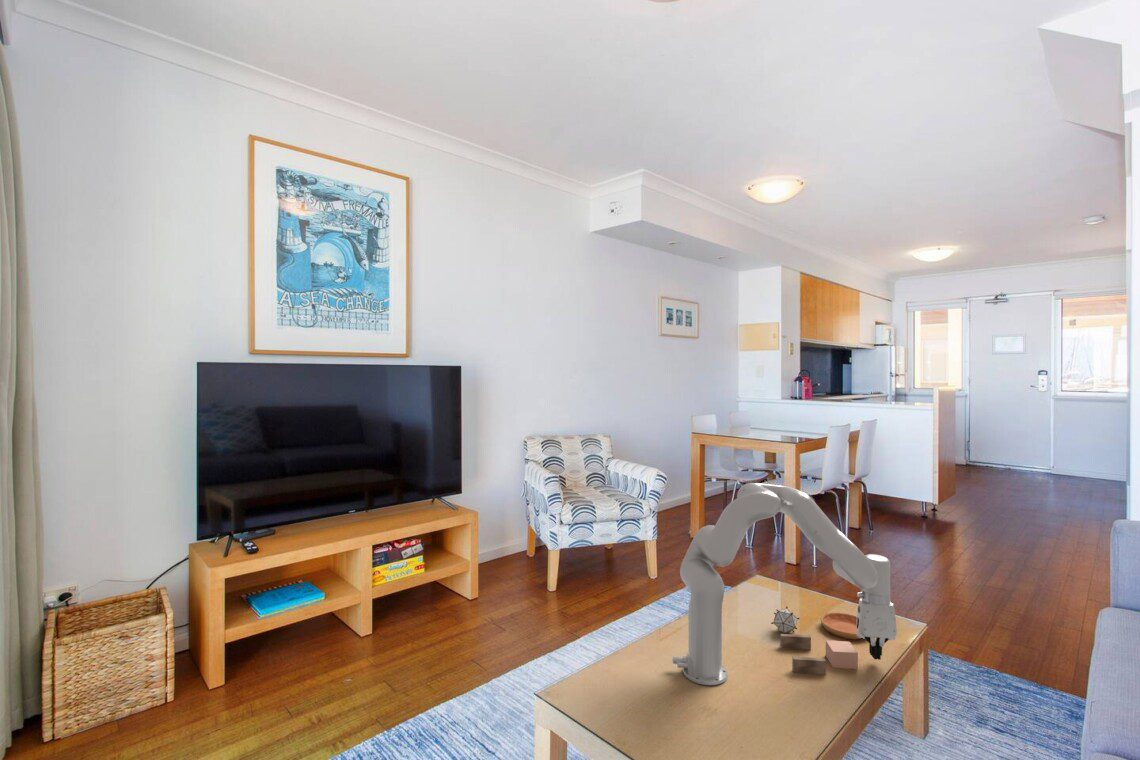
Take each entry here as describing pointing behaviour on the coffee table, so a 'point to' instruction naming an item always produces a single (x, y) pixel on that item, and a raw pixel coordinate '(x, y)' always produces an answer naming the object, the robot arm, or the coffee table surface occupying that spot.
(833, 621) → the saucer
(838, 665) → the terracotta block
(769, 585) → the coffee table surface
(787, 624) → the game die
